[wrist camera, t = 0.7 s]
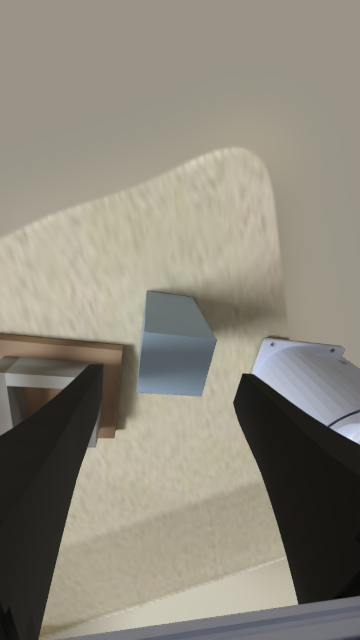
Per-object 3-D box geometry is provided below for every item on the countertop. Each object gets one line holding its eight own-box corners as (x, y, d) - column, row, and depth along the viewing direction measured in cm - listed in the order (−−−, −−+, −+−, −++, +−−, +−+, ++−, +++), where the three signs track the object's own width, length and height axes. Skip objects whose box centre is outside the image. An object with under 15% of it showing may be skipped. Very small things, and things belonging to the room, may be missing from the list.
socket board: (123, 345, 20) (119, 365, 17) (115, 430, 24) (110, 458, 21) (-11, 332, 18) (-41, 353, 15) (5, 427, 22) (-17, 458, 19)
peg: (191, 296, 19) (217, 339, 12) (183, 336, 21) (201, 396, 13) (146, 290, 19) (144, 332, 11) (141, 332, 20) (136, 392, 13)
